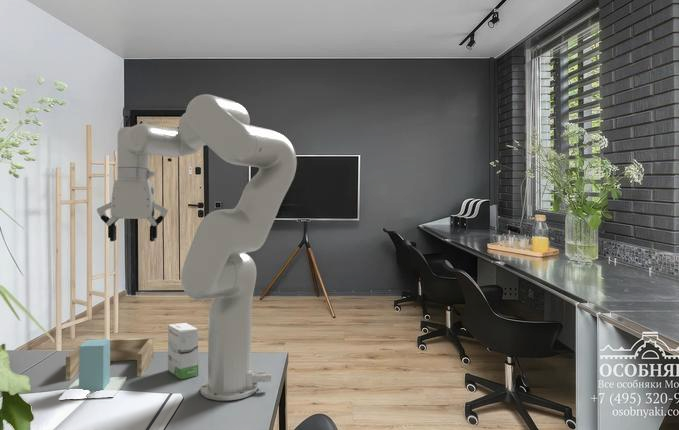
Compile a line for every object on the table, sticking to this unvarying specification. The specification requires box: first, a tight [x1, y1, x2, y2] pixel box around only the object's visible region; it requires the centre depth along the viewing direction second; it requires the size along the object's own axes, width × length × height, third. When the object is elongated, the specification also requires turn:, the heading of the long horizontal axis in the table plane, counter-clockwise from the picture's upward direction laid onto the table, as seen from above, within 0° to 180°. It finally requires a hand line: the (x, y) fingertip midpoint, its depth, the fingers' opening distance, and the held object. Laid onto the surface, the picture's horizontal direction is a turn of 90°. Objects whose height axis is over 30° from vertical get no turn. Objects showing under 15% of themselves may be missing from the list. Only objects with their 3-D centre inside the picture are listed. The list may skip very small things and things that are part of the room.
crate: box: [65, 337, 154, 381], centre depth 121 cm, size 17×14×6 cm
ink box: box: [167, 322, 199, 380], centre depth 118 cm, size 9×5×12 cm, turn 39°
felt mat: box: [66, 376, 128, 398], centre depth 107 cm, size 11×11×1 cm
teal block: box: [78, 338, 111, 391], centre depth 107 cm, size 5×5×10 cm
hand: (132, 240), depth 124 cm, fingers open, 9 cm apart
